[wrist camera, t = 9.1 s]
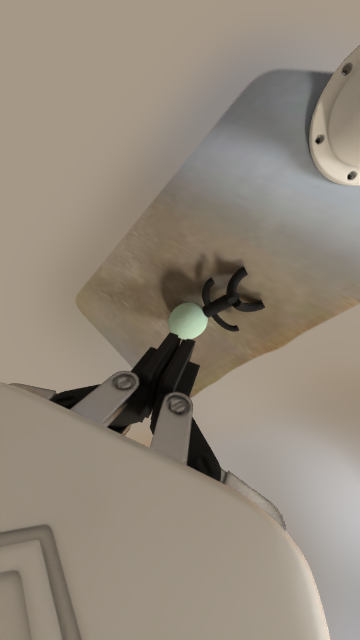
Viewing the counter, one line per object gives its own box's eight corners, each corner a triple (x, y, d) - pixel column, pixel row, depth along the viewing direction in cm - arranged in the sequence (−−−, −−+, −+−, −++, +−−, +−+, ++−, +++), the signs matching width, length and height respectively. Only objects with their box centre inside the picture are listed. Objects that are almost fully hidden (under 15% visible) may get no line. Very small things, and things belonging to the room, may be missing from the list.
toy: (239, 258, 31) (161, 302, 37) (243, 263, 26) (151, 314, 31) (265, 310, 34) (189, 345, 39) (274, 324, 28) (184, 362, 33)
